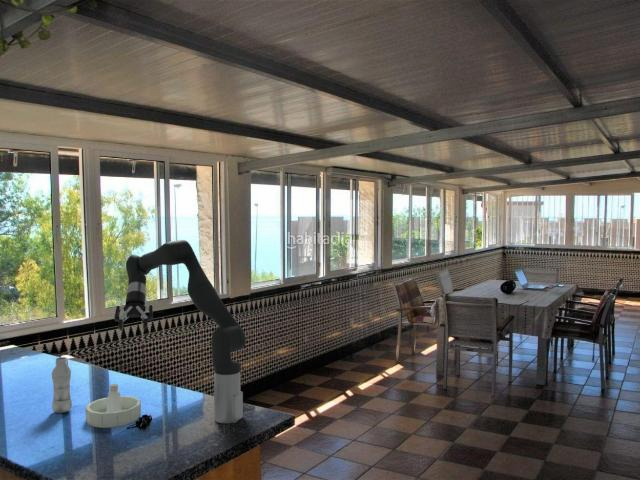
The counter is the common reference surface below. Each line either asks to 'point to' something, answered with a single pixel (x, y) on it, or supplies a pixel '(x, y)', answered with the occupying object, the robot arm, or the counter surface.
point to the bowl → (113, 413)
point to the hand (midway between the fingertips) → (132, 329)
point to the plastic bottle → (61, 386)
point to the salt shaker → (114, 399)
